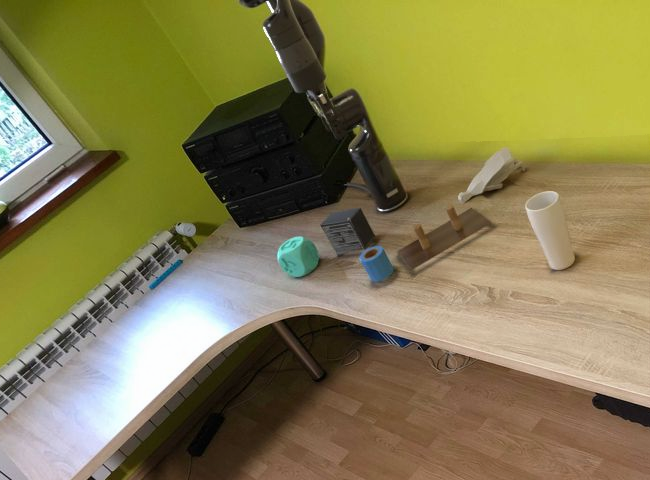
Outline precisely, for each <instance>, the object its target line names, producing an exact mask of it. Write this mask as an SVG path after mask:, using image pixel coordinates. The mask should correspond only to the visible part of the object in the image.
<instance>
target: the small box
mask: <svg viewBox="0 0 650 480" xmlns="http://www.w3.org/2000/svg"><path fill="white" fill-rule="evenodd" d="M319 226H320V227H321V229H322V230H323V233H324V234H325V235H326V237H327V239H328V241H329V242H330V245H331V246H332V248H333V249H334V251H335V253H336V255H337V257H343V256H344V255H346V254H349V252H353V251H361V250H367V249H368V247H369V246H370V244H371V243H372V241H373V240H374V239H375V237H376V234H375V232H374V231H373V228H372V226H371V225H370V223H369V221H368V219H367V218H366V216H365V214H364V212H363V209H362V208H361V207H355V208H349V209H344V210H340V211H339V210H338V211H332V212H330V213H329V214H328V215H327V216H326V217H325V219H323V221H322V222H321V223H320V224H319Z"/></svg>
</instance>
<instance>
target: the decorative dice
mask: <svg viewBox="0 0 650 480" xmlns="http://www.w3.org/2000/svg"><path fill="white" fill-rule="evenodd" d="M317 248H318V247H317V246H316V244H315V243H314V242H313V241H311V239H309V238H307V237H305V236H294V237H292V238H289V239H288V240H286V241H284V242H283V243H282V244H281V245H280V246H279V248H278V251H277V255H276V256H277V262H278V265H279V267H280V268H281V270H282V271H283V272H284V273H285V274H287V275H289V276H291V277H295V278H301V277H305V276H307V275H308V274H310V273H311V272H313V271H314V270H315V269H316V268H317V266H318V264H319V261H320V257H319V256H320V254H319V250H318V249H317Z"/></svg>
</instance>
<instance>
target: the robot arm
mask: <svg viewBox="0 0 650 480" xmlns="http://www.w3.org/2000/svg"><path fill="white" fill-rule="evenodd" d="M236 1H237V2H238V3H239V4H240V5H241V6H242V7H244V8H248V9H254V8H257V7H259V6H261V5H263V4H266V6H267V7H268V9H269V12H270V14H269V15H268V16H267V17H265V19H264V20H263V21H262V25H261V26H262V30H263V31H264V33H265V36H266V37H267V39H268V41H269V43H270V44H271V46H272V49H273V50H274V52H275V55H276V57H277V59H278V62H279V64H280V66H281V68H282V69H283V72H284V74H285V76H286V77H287V79H288V81H289V82H290V84H291V86H292V88H293V89H294V92H295V93H297V94H302V93H305V95H306V96H307V97H306V98H307V100H308V102H309V104H310V105H311V107H312V109H313V111H314V113H316V114H317V117H319V118H320V119H321V121H322V123H323V125H324V127H325V129H326V130H327V132H329V133H331V132H332V134H333V136H334V138H335V139H336V140H341V139H342V138H344V137H346V134H347V133H349V132H351V131H352V130H354V129H356V128H358V127H359V130H358V132H357V134H356V136H355V137H354V138H353V139H352V140H351V141H350V143H349V145H348V148H347V151H348V153H349V155H350V157H351V159H352V161H353V162H354V164H355V166H356V168H357V170H358V172H359V174H360V176H361V178H362V180H363V182H364V184H365V186H364V185H362V184H357V183H351V182H346V183H347V184H344V185H343V187H344V186H346V187H351V188H352V187H353V188H358V189H361V190H363V191H366V192H367V193H368V194H369V195H370V196H371V198H372V199H373V201H374V204H375V205H376V208H377V210H378V212H380V213H389V212H392V211H395V210H397V209H398V208H400V207H401V206H403V205H405V204H406V202H407V201H408V199H409V195H408V192H407V191H406V189H405V188H404V186H403V184H402V181H401V179H400V177H399V175H398V173H397V170H396V168H395V166H394V164H393V162H392V160H391V158H390V156H389V154H388V151H387V150H386V148H385V146H384V144H383V141H382V139H381V138H380V136H379V133H378V131H377V129H376V127H375V124H374V123H373V120H372V118H371V115H370V113H369V111H368V108H367V105H366V103H365V101H364V98H363V97H362V96H361V93H360V92H359V91H358V90H357V89H356V88H354V87H350V88H347V89H346V90H344V91H342V92H339V93H338V94H336V95H335V96H333V97H331V98H330V97H329V94H328V90H327V85H326V79H327V74H326V71H325V69H326V54H327V53H326V52H327V51H326V47H327V45H326V36H325V34H324V32H323V30H322V28H321V26H320V24H319V22H318V20H317V17H316V16H315V14H314V12H313V11H312V9H311V8H310V7H309V6H308V5H307V4H306V3H304V2H303V1H301V0H236Z"/></svg>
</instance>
